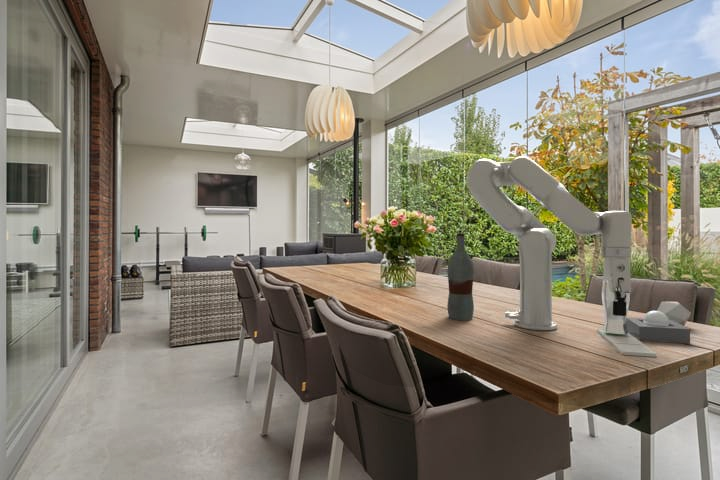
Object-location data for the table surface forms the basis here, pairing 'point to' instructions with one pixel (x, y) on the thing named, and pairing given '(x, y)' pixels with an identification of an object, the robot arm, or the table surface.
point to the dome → (656, 318)
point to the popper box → (658, 331)
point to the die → (675, 312)
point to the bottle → (460, 283)
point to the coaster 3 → (634, 350)
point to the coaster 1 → (611, 334)
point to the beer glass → (611, 321)
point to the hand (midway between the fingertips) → (614, 312)
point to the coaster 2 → (622, 340)
